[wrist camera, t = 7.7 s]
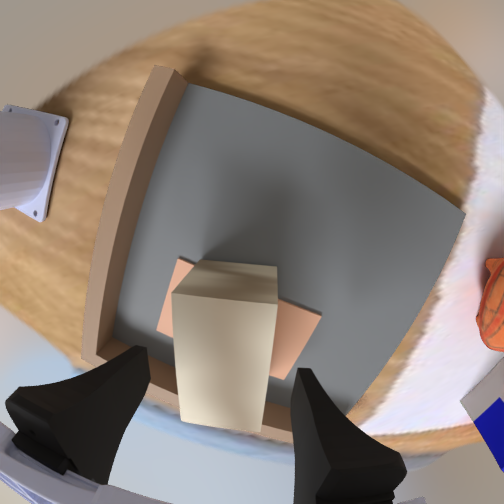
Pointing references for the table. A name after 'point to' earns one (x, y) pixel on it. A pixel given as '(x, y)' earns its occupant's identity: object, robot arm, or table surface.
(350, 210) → the tray
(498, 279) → the pot
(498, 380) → the puzzle toy
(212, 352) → the birch block
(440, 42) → the table surface
